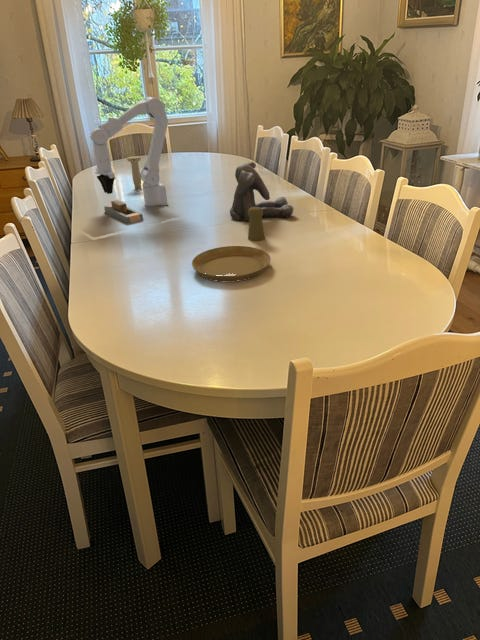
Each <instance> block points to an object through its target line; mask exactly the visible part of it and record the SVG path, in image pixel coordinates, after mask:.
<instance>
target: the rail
mask: <svg viewBox="0 0 480 640" xmlns="http://www.w3.org/2000/svg"><path fill="white" fill-rule="evenodd" d="M103 209H104V212H103V213H104V214H105V215H107V216H110V217H111V218H113V219H116V220H117V221H119V222H121V223H124V224H126V225H128V224H133V223H136V222H140V221H144V220H145V218H144V217H143V216H144V215H143V213H142V212H139V211H137V210H135V209H133V208H130V207H129V206H127V213H128V215H125V214H123V213H121V212H119V211H116V210H114V209H112V204H108V205H105V206H103Z"/></svg>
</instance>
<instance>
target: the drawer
mask: <svg viewBox="0 0 480 640" xmlns="http://www.w3.org/2000/svg"><path fill="white" fill-rule="evenodd" d="M110 202H111V204H110V205H112V209H114V210H116V211H119V212H121V213H123V214H125V215H128V213H127V207H128V206H127V203H126V202H123V201H121V200H119V199H117V200H111V201H110Z"/></svg>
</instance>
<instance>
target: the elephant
mask: <svg viewBox="0 0 480 640" xmlns="http://www.w3.org/2000/svg"><path fill="white" fill-rule="evenodd" d="M256 166H257V164H256V162H254V161H250V162H247V163H242V164H240V165H238V166H237V167H236V169H235V173H234V175H235V179H236V182H237V185H236V187H235V191H234V195H233V201H232V205H231V207H230V209H229V215H230V217H231V219H232V220H234V221H238V222H239V221H240V222H248V223H249V221H250V217H249V215H248V210H249V209H250V208H251V207H260V208H262V210H263V215H262V218H289V217H291V216H292V215H293V213H294V207H293V205H291V204H289V203H288V201H287V198H286V197H285V196H280V197H278V198H277V199H276V200H274V201H272V200H271V201H270V198H271V197H270V196H271V195H270V191H269V189H268V188H267V186H266V184H265V183H264V180H263V178H261V175H260V174H259V173H258V171H257V170H256V169H255V168H256ZM254 190H255V191H257V192H258V193H259V194H260V196H261V198H262V199H264V200H265V201H260V202H258V203H256V200H255V192H254Z"/></svg>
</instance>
